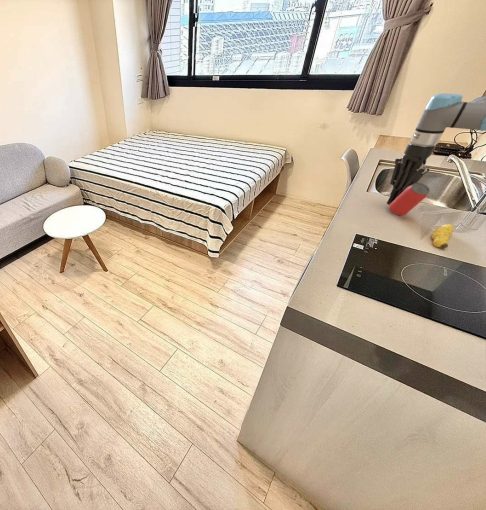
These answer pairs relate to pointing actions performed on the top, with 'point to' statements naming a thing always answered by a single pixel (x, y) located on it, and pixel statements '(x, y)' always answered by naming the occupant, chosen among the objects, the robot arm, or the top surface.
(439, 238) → the yellow lumpy toy
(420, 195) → the beer can
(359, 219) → the top surface
